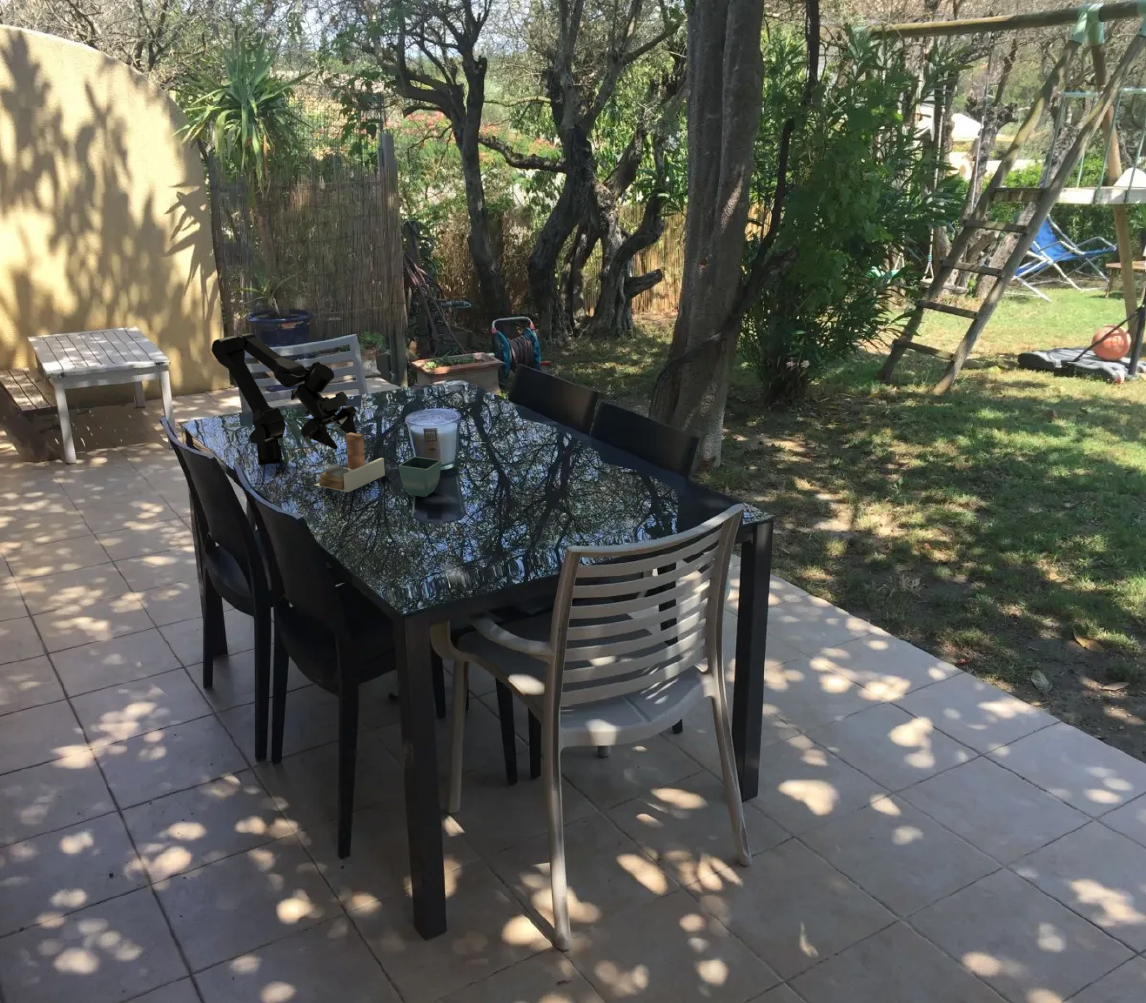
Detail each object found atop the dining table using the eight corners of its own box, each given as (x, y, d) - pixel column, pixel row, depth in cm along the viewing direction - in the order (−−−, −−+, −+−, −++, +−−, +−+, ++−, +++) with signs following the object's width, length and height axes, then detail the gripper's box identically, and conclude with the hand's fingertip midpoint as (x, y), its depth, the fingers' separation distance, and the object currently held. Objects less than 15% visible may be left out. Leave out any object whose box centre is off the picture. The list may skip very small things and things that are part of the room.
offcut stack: (319, 485, 273) (317, 468, 271) (332, 479, 277) (330, 463, 276) (342, 490, 269) (340, 473, 268) (354, 484, 274) (353, 467, 272)
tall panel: (348, 474, 281) (345, 434, 277) (353, 472, 283) (350, 432, 279) (361, 477, 279) (358, 436, 275) (365, 475, 281) (363, 434, 277)
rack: (314, 488, 273) (312, 467, 271) (351, 471, 287) (350, 452, 284) (348, 495, 268) (346, 474, 266) (384, 478, 282) (383, 458, 279)
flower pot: (443, 490, 273) (442, 459, 270) (428, 501, 265) (427, 469, 262) (414, 486, 276) (413, 456, 272) (399, 497, 268) (397, 465, 265)
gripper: (304, 391, 268) (340, 436, 267) (349, 377, 284) (382, 419, 283) (285, 416, 274) (320, 459, 273) (330, 401, 290) (362, 442, 289)
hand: (347, 444), depth 279 cm, fingers open, 9 cm apart
